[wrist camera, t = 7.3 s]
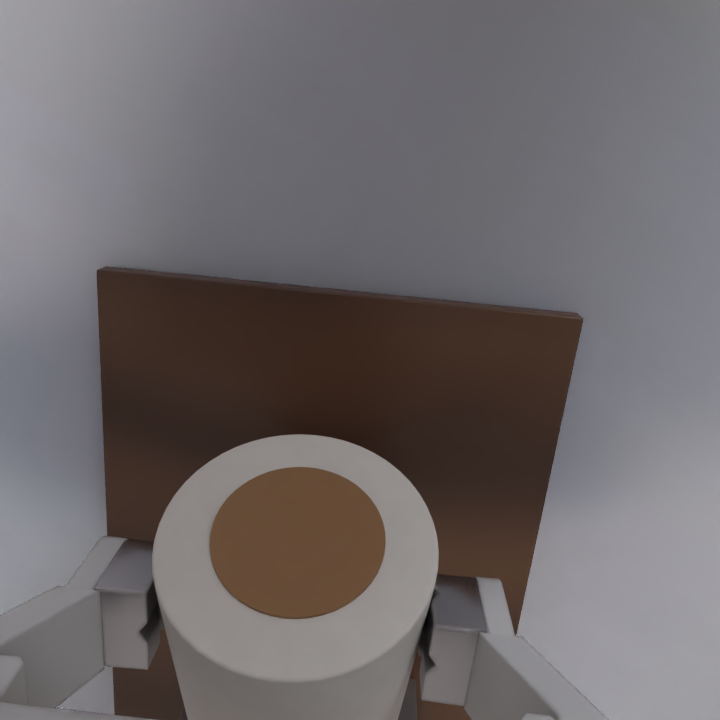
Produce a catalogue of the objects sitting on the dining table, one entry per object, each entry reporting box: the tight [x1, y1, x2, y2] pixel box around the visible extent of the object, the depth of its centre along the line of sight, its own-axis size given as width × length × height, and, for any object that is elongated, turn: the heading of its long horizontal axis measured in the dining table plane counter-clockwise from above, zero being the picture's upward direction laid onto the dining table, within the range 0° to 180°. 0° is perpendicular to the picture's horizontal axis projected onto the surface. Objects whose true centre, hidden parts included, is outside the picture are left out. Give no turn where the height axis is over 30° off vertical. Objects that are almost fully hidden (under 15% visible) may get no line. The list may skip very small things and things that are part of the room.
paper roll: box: [152, 434, 439, 720], centre depth 16 cm, size 5×5×13 cm
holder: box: [97, 267, 583, 720], centre depth 19 cm, size 22×14×6 cm, turn 175°
